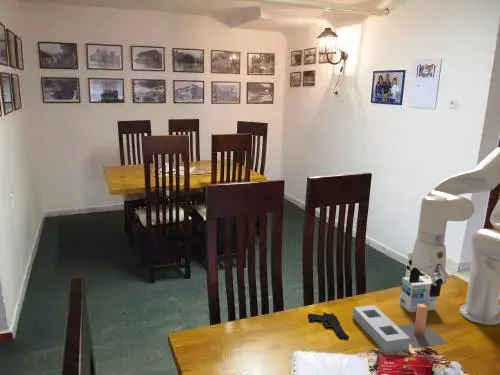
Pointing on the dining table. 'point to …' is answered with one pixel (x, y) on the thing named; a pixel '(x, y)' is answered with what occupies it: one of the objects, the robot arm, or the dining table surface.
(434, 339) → the mat
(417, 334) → the dowel
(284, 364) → the dining table surface
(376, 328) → the socket block
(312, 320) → the handgun
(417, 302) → the light bulb box
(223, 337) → the dining table surface
